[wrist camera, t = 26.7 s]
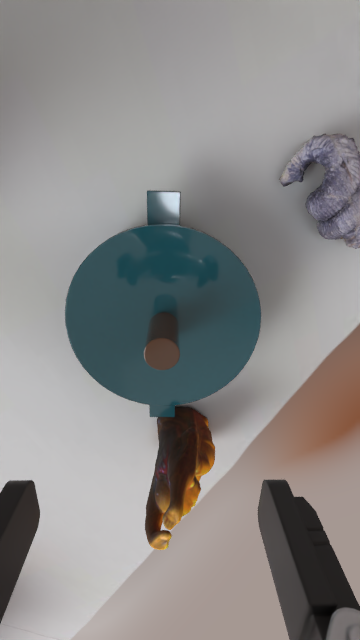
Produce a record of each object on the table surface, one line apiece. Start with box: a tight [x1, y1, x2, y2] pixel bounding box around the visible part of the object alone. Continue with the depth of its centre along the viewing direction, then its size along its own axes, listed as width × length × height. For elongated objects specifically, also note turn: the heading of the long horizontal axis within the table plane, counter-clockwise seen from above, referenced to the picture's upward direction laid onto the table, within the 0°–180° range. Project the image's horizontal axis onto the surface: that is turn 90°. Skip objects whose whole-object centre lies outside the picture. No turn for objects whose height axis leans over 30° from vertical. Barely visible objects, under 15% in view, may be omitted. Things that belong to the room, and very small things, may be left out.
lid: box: [65, 224, 261, 406], centre depth 23 cm, size 16×16×6 cm
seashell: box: [279, 134, 360, 248], centre depth 25 cm, size 5×5×10 cm
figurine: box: [145, 407, 215, 550], centre depth 30 cm, size 6×7×13 cm
